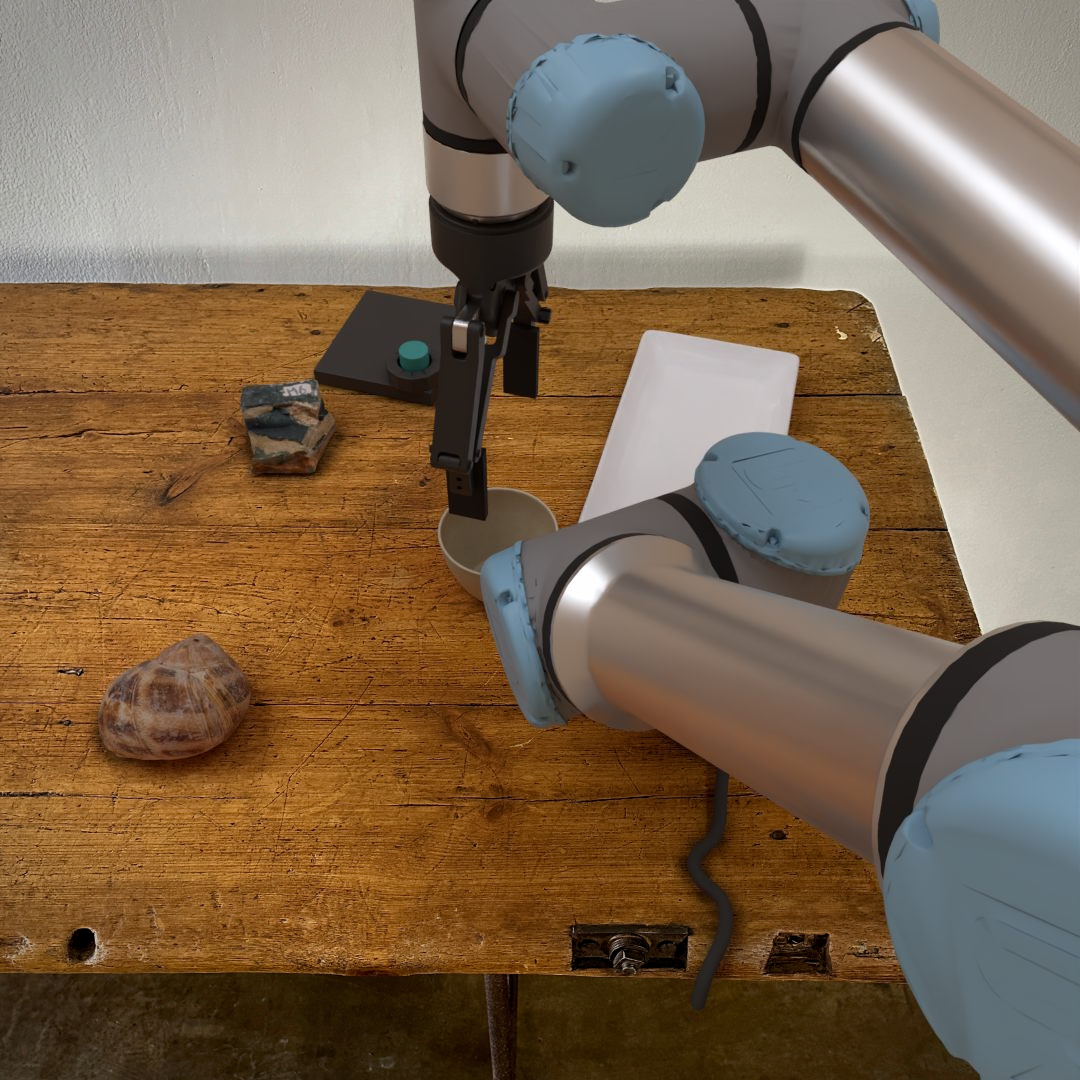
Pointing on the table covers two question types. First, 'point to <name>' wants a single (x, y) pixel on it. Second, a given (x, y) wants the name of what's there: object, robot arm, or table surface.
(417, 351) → the button
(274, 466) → the rock
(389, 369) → the black button board
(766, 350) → the tray
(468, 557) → the beige bowl
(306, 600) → the table surface
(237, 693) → the seashell
